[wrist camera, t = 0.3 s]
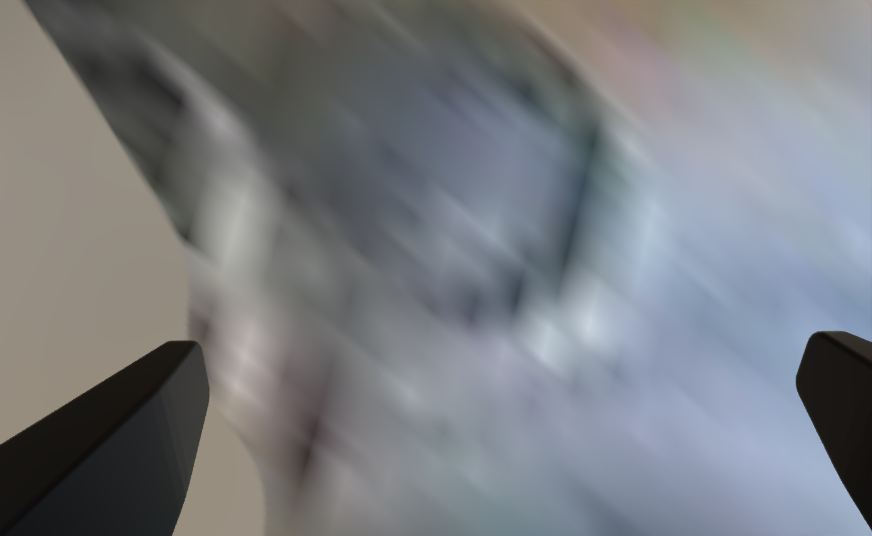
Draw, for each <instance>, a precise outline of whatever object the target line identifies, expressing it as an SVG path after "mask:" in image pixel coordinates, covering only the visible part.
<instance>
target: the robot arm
mask: <svg viewBox="0 0 872 536" xmlns="http://www.w3.org/2000/svg"><path fill="white" fill-rule="evenodd" d="M796 388H797V392H798V394H799V396H800V398H801V400H802V402H803V404H804V406H805V409H806V411H807V413H808V415H809V417H810V419H811V421H812V423H813V425H814V427H815V429H816V431H817V433H818V435H819V437H820V439H821V441H822V443H823V445H824V447H825V449H826V452H827V454H828V456H829V458H830V460H831V462H832V464H833V466H834V468H835V470H836V472H837V473H838V475H839V477H840V479H841V481H842V483H843V485H844V486H845V488H846V490H847V491H848V493H849V495H850V496H851V498H852V500H853V501H854V503H855V505H856V506H857V508H858V509H859V511H860V513H861V514H862V516H863V517H864V519H865V521H866V522H867V524H868V525H869V527H870V529H871V530H872V342H870V341H867V340H865V339H862V338H860V337H858V336H855V335H853V334H850V333H848V332H844V331H818V332H816V333H814V334H812V335H811V337H810V338H809V340H808V342H807V345H806V348H805V351H804V354H803V357H802V360H801V363H800V366H799V369H798V372H797V375H796ZM208 403H209V383H208V378H207V373H206V368H205V363H204V358H203V353H202V349H201V346H200V344H199V343H198V342H196V341H168V342H166V343H165V344H163V345H161V346H160V347H158V348H156V349H155V350H153V351H151V352H150V353H148V354H146V355H145V356H143V357H142V358H140V359H138V360H137V361H135V362H133V363H132V364H130V365H129V366H127V367H125V368H124V369H122V370H121V371H119V372H117V373H116V374H114V375H112V376H111V377H109V378H108V379H106V380H104V381H103V382H101V383H99V384H98V385H96V386H94V387H93V388H91V389H90V390H88V391H86V392H85V393H83V394H81V395H80V396H78V397H77V398H75V399H73V400H72V401H70V402H69V403H67V404H65V405H64V406H62V407H61V408H59V409H57V410H55V411H54V412H52V413H51V414H49V415H47V416H46V417H44V418H43V419H41V420H39V421H38V422H36V423H34V424H33V425H31V426H30V427H28V428H26V429H25V430H23V431H22V432H20V433H18V434H17V435H15V436H13V437H12V438H10V439H9V440H7V441H5V442H3V443H2V444H0V536H172V534H173V532H174V529H175V526H176V523H177V521H178V518H179V515H180V513H181V509H182V507H183V504H184V501H185V498H186V494H187V491H188V487H189V483H190V479H191V475H192V471H193V466H194V462H195V458H196V453H197V450H198V446H199V441H200V437H201V433H202V429H203V424H204V420H205V416H206V412H207V407H208Z"/></svg>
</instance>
